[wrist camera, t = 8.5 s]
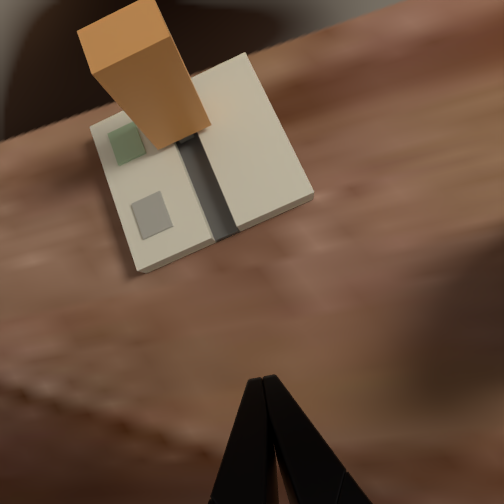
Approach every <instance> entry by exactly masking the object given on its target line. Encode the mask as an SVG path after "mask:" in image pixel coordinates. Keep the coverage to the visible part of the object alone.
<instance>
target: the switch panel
mask: <svg viewBox="0 0 504 504" xmlns="http://www.w3.org/2000/svg"><path fill="white" fill-rule="evenodd" d="M191 80H192V82H193V84H194V86H195V88H196V91H197V93H198V95H199V97H200V100H201V102H202V104H203V107H204V109H205V111H206V113H207V116H208V118H209V120H210V123H211V126H209V127H206V128H204V129H202V130H200V131H198V132H196V133H194V134H193V135H194V138H192V139H190V140H188V141H186V142H184V143H180V142H179V141H177V142H174V143H172V144H170V145H168V146H166V147H164V148H162V149H159V150H158V149H157V148H156V147H155V146H154V145H153V144H152V143H151V141H150V140H149V139H148V138H147V137H146V136H145V135H144V133H143V132H142V131H141V130H140V129H139V128H138V127H137V125H136V124H135V123H134V122H133V121H132V120H131V119H130V117H129V116H128V115H127V114H126V113H125V112H124V111H121V112H119V113H117V114H115V115H113V116H111V117H109V118H107V119H105V120H103V121H101V122H98V123H96V124H94V125H92V126H90V130H91V133H92V136H93V139H94V142H95V145H96V148H97V151H98V154H99V157H100V160H101V163H102V166H103V169H104V172H105V175H106V178H107V181H108V184H109V187H110V190H111V193H112V196H113V199H114V202H115V205H116V209H117V212H118V215H119V218H120V221H121V224H122V227H123V230H124V233H125V236H126V239H127V242H128V245H129V248H130V251H131V254H132V257H133V260H134V263H135V266H136V269H137V271H139V272H143V273H149V272H151V271H153V270H155V269H158V268H160V267H162V266H164V265H167V264H169V263H171V262H173V261H176V260H178V259H180V258H182V257H185V256H187V255H189V254H191V253H194V252H196V251H198V250H200V249H203V248H205V247H207V246H209V245H212V244H214V243H216V242H218V241H221V240H223V239H225V238H227V237H230V236H232V235H234V234H236V233H239V232H241V231H243V230H245V229H248V228H250V227H252V226H254V225H257V224H259V223H261V222H263V221H266V220H268V219H270V218H272V217H275V216H277V215H279V214H281V213H284V212H286V211H288V210H290V209H293V208H295V207H297V206H299V205H302V204H304V203H306V202H308V201H311V200H313V198H314V191H313V189H312V186H311V184H310V182H309V180H308V178H307V176H306V174H305V172H304V170H303V168H302V166H301V164H300V162H299V160H298V158H297V156H296V154H295V152H294V150H293V148H292V146H291V144H290V142H289V140H288V138H287V136H286V134H285V132H284V130H283V128H282V126H281V124H280V122H279V120H278V118H277V116H276V114H275V112H274V110H273V108H272V106H271V104H270V102H269V100H268V97H267V95H266V93H265V91H264V89H263V87H262V85H261V83H260V81H259V79H258V77H257V75H256V73H255V71H254V69H253V67H252V65H251V63H250V61H249V59H248V57H247V55H246V53H245V52H244V53H242V54H240V55H238V56H236V57H234V58H232V59H230V60H228V61H226V62H224V63H221V64H219V65H217V66H215V67H213V68H211V69H209V70H207V71H205V72H203V73H201V74H199V75H196V76H194V77H192V78H191Z"/></svg>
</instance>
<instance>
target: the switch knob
mask: <svg viewBox="0 0 504 504" xmlns="http://www.w3.org/2000/svg"><path fill="white" fill-rule="evenodd" d="M77 33H78V36H79V38H80V41H81V44H82V47H83V50H84V53H85V55H86V59H87V61H88V64H89V67H90V70H91V73H92V75H93V76H94V77H95V78H96V79H97V80H98V82H99V83H100V84H101V85H102V86H103V87H104V89H105V90H106V91H107V92H108V93H109V94H110V95H111V97H112V98H113V99H114V100H115V101H116V102H117V104H118V105H119V106H120V107H121V108H122V109H123V111H124V112H125V113H126V114H127V115H128V116H129V117H130V119H131V120H132V121H133V122H134V123H135V124H136V125H137V127H138V128H139V129H140V130H141V131H142V132H143V133H144V135H145V136H146V137H147V138H148V139H149V140H150V141H151V143H152V144H153V145H154V146H155V147H156V148H157V149H158V150H159V149H162V148H164V147H166V146H168V145H170V144H172V143H174V142H177V141H179V142H180V143H184V142H186V141H188V140H190V139H192V138H194V135H193V134H194V133H196V132H198V131H200V130H202V129H204V128H206V127H209V126H211V123H210V120H209V118H208V116H207V113H206V111H205V109H204V107H203V104H202V102H201V100H200V97H199V95H198V93H197V91H196V88H195V86H194V84H193V82H192V80H191V78H190V75H189V73H188V71H187V69H186V67H185V65H184V63H183V60H182V58H181V56H180V54H179V52H178V50H177V47H176V45H175V43H174V41H173V39H172V36H171V34H170V32H169V30H168V28H167V26H166V23H165V21H164V19H163V17H162V15H161V13H160V11H159V8H158V6H157V4H156V2H155V0H138V1H136V2H134V3H133V4H130V5H128V6H126V7H125V8H122V9H120V10H118V11H116V12H114V13H112V14H110V15H108V16H106V17H105V18H102V19H100V20H98V21H96V22H94V23H92V24H90V25H89V26H86V27H84V28H83V29H80V30H78V31H77Z"/></svg>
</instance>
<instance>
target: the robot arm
mask: <svg viewBox="0 0 504 504" xmlns="http://www.w3.org/2000/svg"><path fill="white" fill-rule="evenodd" d="M274 447H275V448H274ZM275 452H276V455H275ZM276 457H277V461H278V464H279V468H280V472H281V475H282V479H283V482H284V485H285V489H286V492H287V496H288V499H289V503H290V504H372V502H371V501H370V500H369V498H368V497H367V496H366V495H365V493H364V492H363V491H362V490H361V488H360V487H359V486H358V484H357V483H356V482H355V480H354V479H353V478H352V476H351V475H350V474H349V472H346V468H345V467H344V466H343V464H342V463H341V462H340V460H339V459H338V458H337V456H336V455H335V454H334V452H333V451H332V450H331V448H330V447H329V446H328V444H327V443H326V441H325V440H324V439H323V437H322V436H321V435H320V433H319V432H318V431H317V429H316V428H315V427H314V425H313V424H312V423H311V421H310V420H309V419H308V417H307V416H306V414H305V413H304V412H303V410H302V409H301V408H300V406H299V405H298V404H297V402H296V401H295V400H294V398H293V397H292V396H291V394H290V393H289V392H288V390H287V389H286V387H285V386H284V385H283V383H282V382H281V381H280V379H279V378H278V377H277V376H276V375H268V376H264V377H263V378H261V377H258V378H253V379H249V380H248V382H247V385H246V388H245V391H244V394H243V397H242V400H241V403H240V406H239V409H238V412H237V416H236V419H235V422H234V425H233V428H232V431H231V434H230V437H229V440H228V443H227V446H226V450H225V453H224V456H223V459H222V462H221V465H220V468H219V471H218V474H217V477H216V480H215V484H214V487H213V490H212V493H211V496H210V497H211V499H210V500H209V502H208V504H279V498H278V482H277V466H276Z"/></svg>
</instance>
